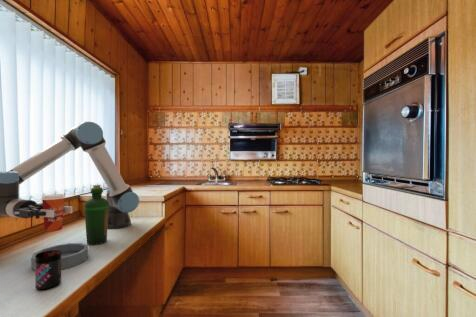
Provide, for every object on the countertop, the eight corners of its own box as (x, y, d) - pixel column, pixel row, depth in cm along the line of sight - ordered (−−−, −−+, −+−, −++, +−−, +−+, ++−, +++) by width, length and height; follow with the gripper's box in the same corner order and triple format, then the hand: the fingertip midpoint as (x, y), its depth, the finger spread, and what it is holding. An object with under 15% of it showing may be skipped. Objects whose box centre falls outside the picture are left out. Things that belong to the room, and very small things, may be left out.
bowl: (87, 250, 111) (87, 240, 111) (88, 264, 96) (88, 253, 96) (36, 259, 102) (36, 248, 102) (27, 276, 87) (27, 264, 87)
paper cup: (52, 233, 95) (52, 196, 96) (36, 232, 97) (36, 196, 97) (70, 227, 103) (70, 193, 103) (55, 226, 105) (55, 193, 105)
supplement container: (34, 285, 80) (34, 253, 80) (60, 279, 85) (60, 248, 85) (35, 294, 75) (35, 259, 75) (62, 286, 80) (62, 254, 80)
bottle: (114, 240, 125) (113, 184, 125) (95, 247, 115) (95, 186, 115) (98, 238, 129) (97, 183, 129) (78, 244, 119) (78, 186, 119)
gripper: (46, 212, 115) (84, 215, 108) (-6, 223, 96) (36, 227, 89) (46, 196, 115) (84, 198, 108) (-6, 203, 96) (36, 207, 89)
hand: (62, 211), depth 99 cm, fingers closed on paper cup, 7 cm apart
